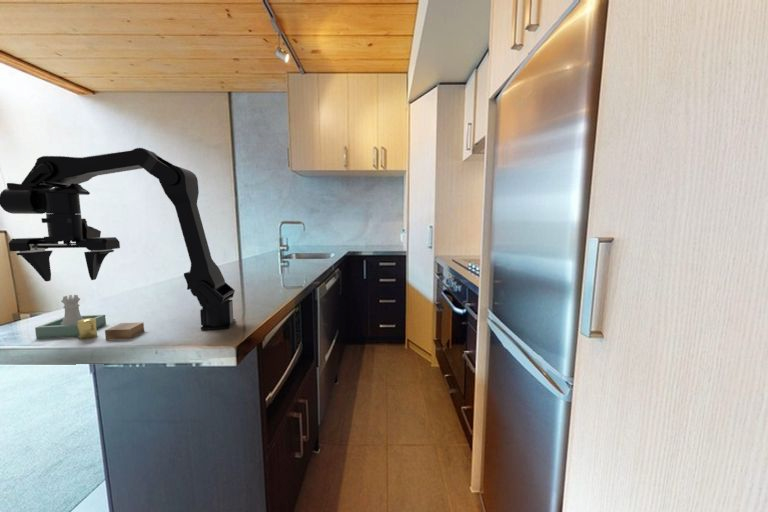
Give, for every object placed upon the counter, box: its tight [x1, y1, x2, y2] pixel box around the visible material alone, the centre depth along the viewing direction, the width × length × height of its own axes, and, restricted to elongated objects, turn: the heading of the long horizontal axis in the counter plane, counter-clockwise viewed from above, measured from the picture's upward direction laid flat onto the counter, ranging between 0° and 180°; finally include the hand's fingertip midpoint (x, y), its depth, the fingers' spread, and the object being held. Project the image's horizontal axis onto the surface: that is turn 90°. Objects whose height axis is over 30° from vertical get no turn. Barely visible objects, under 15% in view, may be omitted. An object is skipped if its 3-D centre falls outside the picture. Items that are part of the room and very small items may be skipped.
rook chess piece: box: [61, 294, 83, 325], centre depth 75 cm, size 4×4×8 cm
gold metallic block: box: [77, 318, 98, 340], centre depth 71 cm, size 3×3×4 cm
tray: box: [34, 314, 107, 339], centre depth 75 cm, size 9×9×2 cm
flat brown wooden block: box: [104, 321, 145, 340], centre depth 73 cm, size 5×5×2 cm
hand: (71, 280), depth 74 cm, fingers open, 9 cm apart
